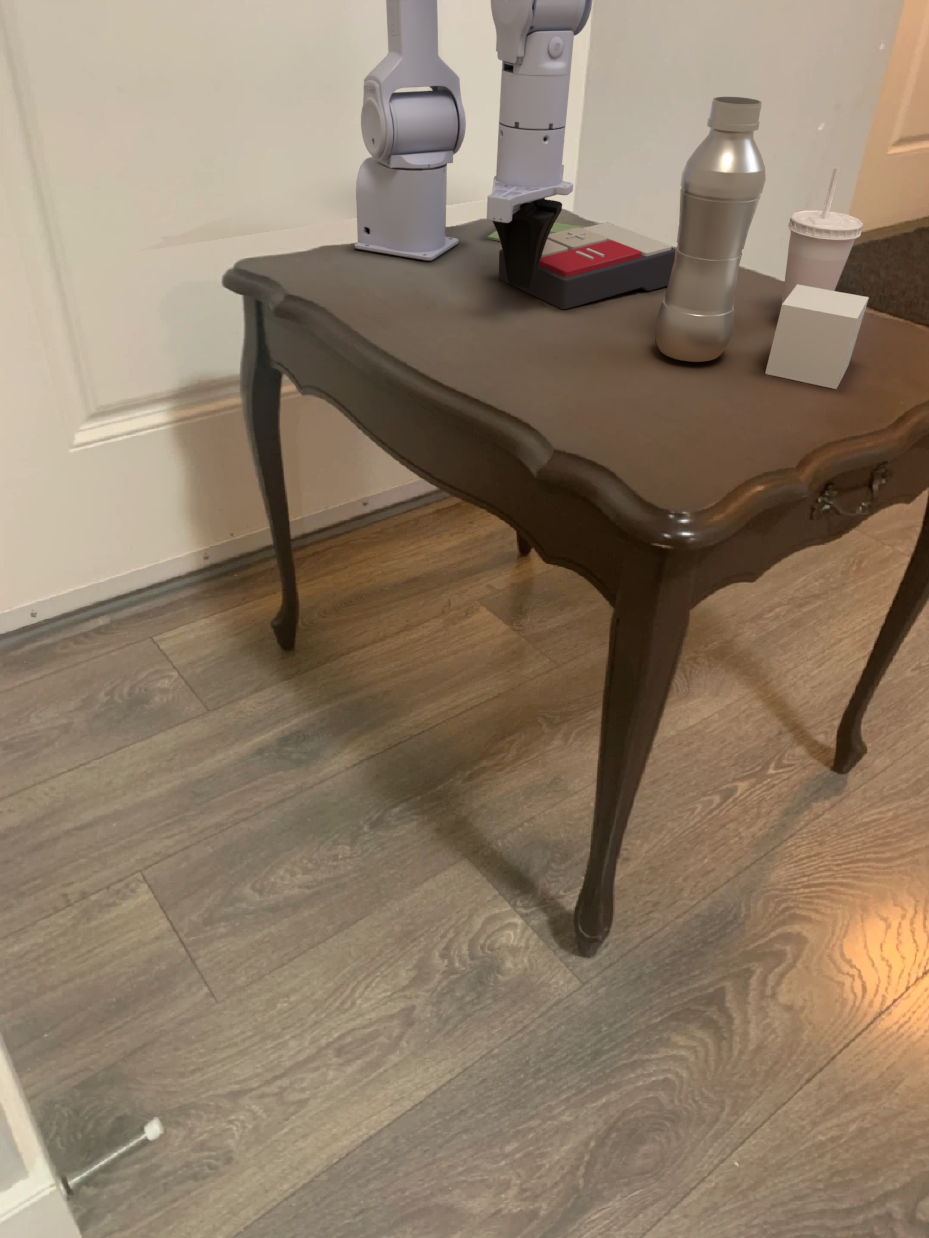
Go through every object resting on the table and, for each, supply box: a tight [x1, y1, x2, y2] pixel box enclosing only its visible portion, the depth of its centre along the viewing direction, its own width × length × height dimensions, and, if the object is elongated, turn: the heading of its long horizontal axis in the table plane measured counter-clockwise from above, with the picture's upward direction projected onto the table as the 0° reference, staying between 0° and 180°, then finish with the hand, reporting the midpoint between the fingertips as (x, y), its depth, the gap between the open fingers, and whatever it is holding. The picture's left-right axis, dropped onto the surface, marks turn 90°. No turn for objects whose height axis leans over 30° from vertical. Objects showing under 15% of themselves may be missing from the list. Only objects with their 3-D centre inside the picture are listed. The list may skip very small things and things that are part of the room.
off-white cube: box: [764, 284, 870, 390], centre depth 79 cm, size 6×6×6 cm
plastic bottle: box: [654, 96, 766, 363], centre depth 76 cm, size 6×7×20 cm
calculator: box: [498, 221, 676, 310], centre depth 96 cm, size 11×4×15 cm
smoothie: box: [781, 166, 864, 305], centre depth 85 cm, size 6×6×14 cm
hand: (520, 284), depth 88 cm, fingers closed
